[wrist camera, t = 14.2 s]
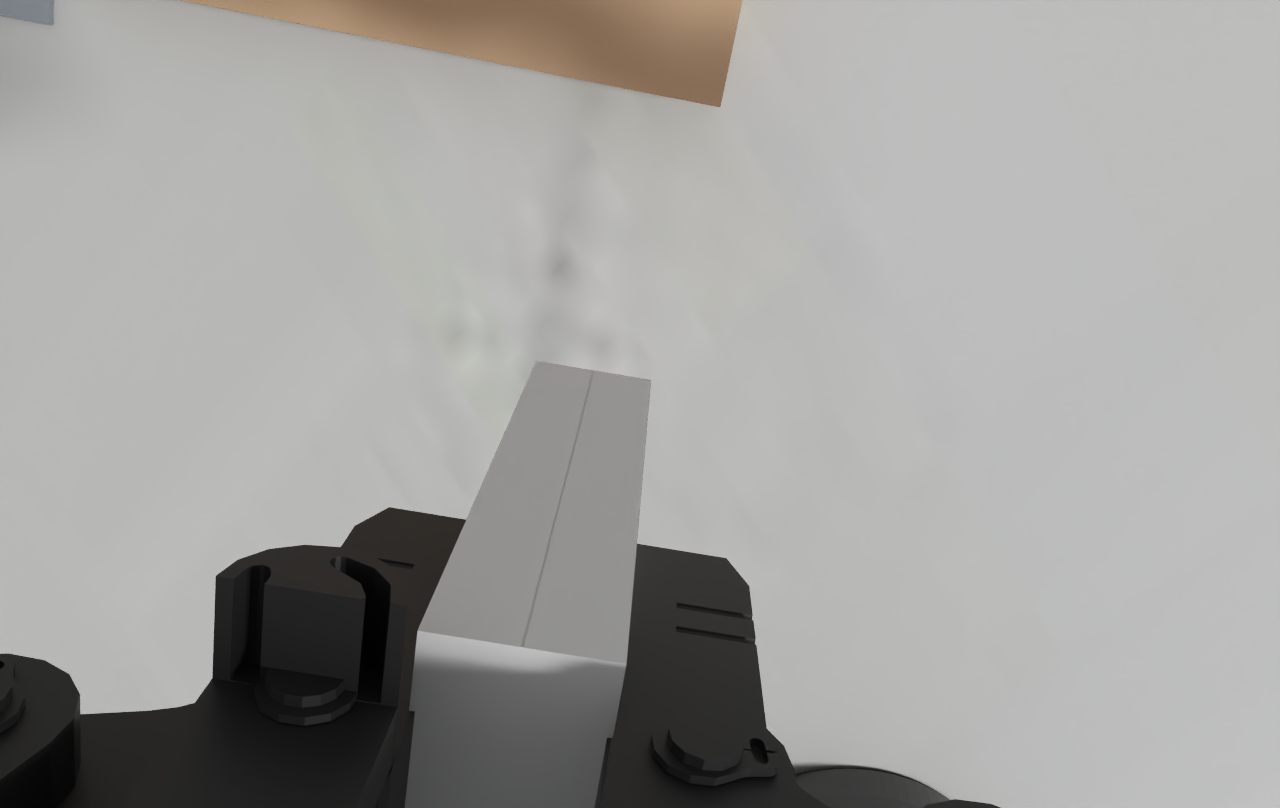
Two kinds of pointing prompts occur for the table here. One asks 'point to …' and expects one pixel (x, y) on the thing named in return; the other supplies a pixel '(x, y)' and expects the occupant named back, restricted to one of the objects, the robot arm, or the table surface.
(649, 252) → the table surface
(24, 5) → the mat
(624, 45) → the wooden board
